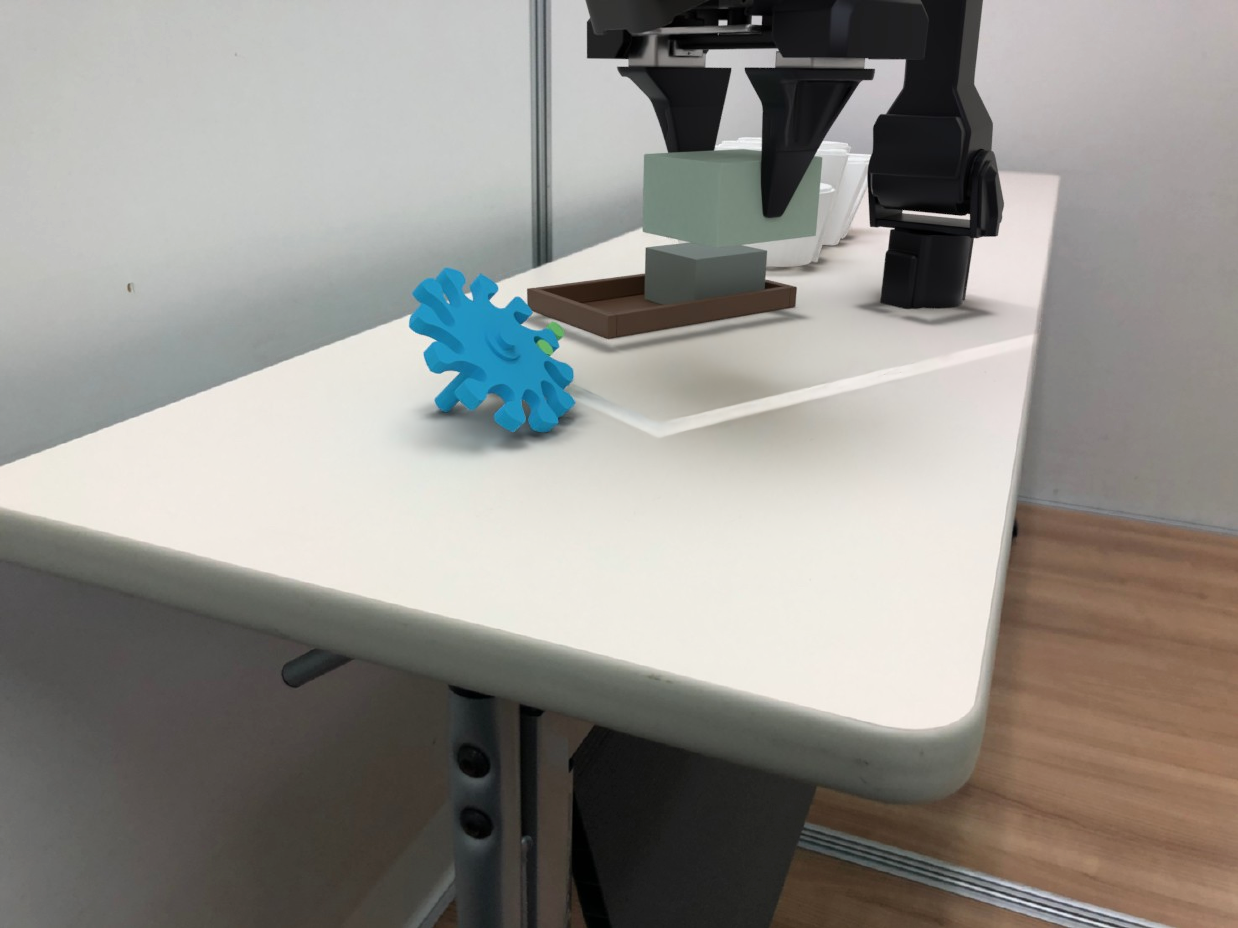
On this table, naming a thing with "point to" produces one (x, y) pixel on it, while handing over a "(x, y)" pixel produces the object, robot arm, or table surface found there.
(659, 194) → the pale green block
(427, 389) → the table surface
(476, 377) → the gear
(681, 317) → the tray
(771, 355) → the table surface
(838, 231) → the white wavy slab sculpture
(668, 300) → the pad
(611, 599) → the table surface
